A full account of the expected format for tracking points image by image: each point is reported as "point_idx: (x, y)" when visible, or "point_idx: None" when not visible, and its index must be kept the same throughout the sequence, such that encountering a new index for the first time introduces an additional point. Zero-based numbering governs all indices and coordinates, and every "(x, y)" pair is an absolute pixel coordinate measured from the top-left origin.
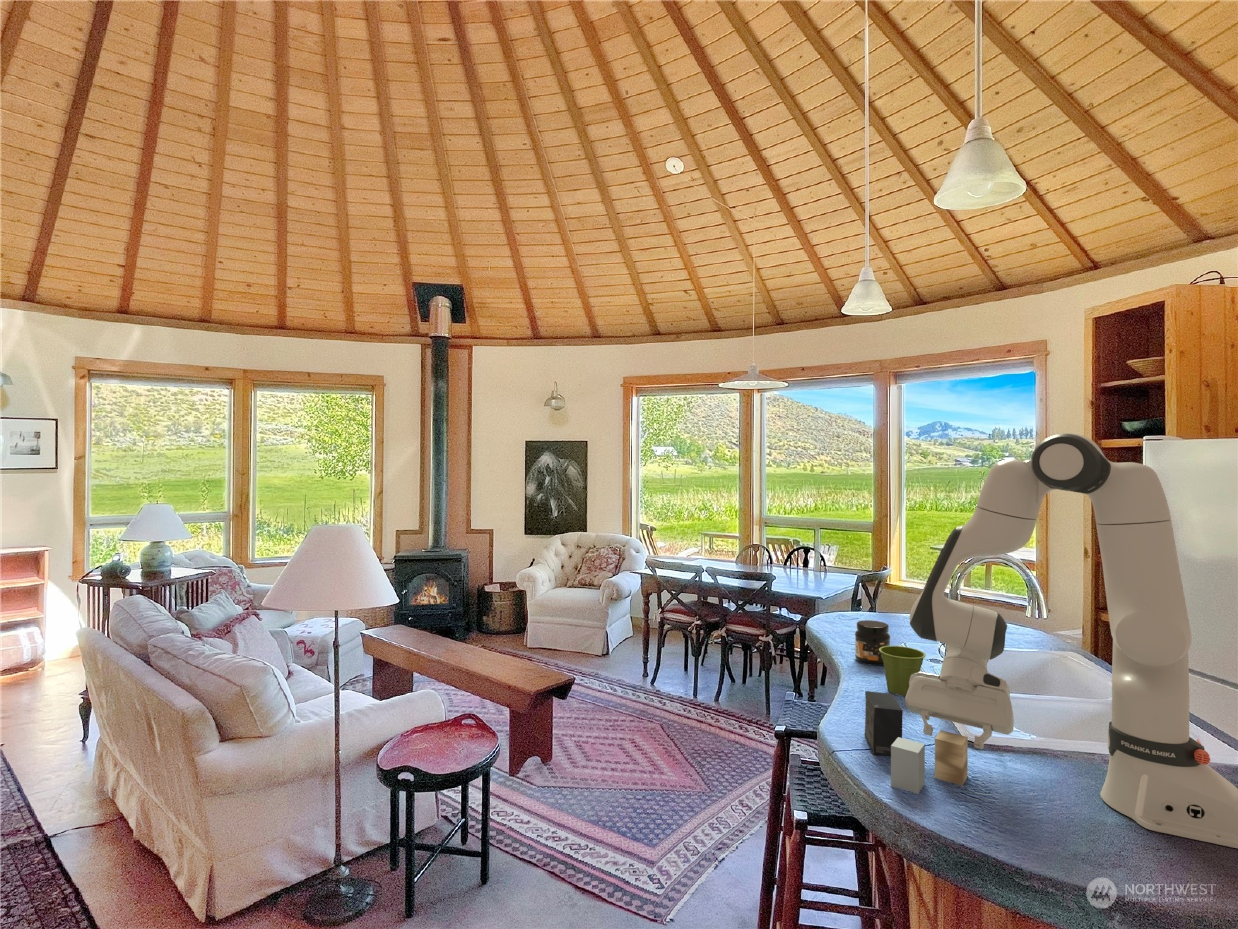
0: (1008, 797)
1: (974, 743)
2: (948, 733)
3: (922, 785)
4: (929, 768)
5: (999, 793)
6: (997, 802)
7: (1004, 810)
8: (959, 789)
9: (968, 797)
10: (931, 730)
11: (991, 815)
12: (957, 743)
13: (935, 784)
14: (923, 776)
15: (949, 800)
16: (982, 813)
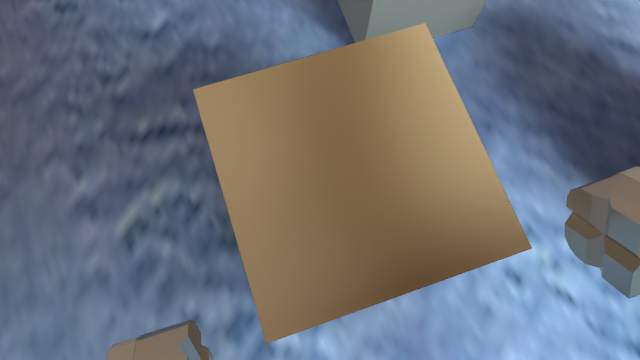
0: (38, 278)
1: (185, 322)
2: (436, 242)
3: (349, 20)
4: None
5: (86, 280)
6: (61, 178)
7: (12, 133)
8: None
9: (174, 110)
10: (607, 238)
11: (41, 48)
12: (243, 86)
13: None
14: (358, 9)
15: (215, 20)
16: (74, 34)
